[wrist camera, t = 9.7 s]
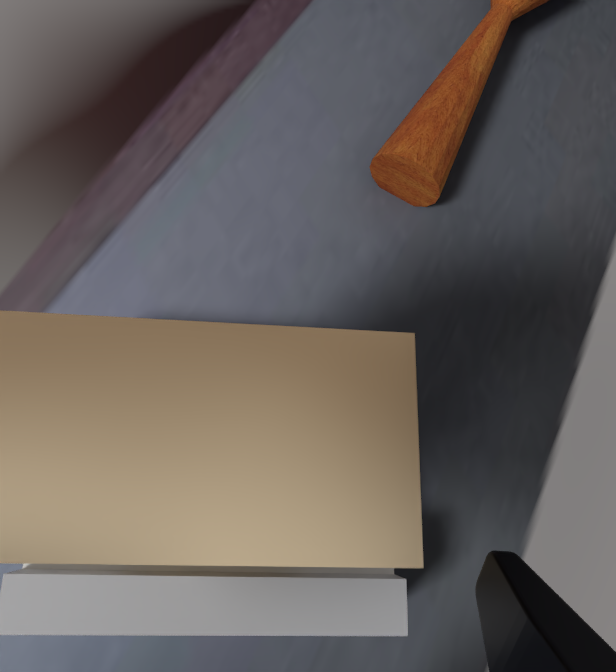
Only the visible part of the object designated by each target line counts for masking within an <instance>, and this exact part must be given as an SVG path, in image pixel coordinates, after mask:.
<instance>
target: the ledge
mask: <svg viewBox="0 0 616 672" xmlns="http://www.w3.org/2000/svg"><path fill="white" fill-rule="evenodd" d="M0 635H200V636H408V622H407V585H406V579H405V578H402V577H400V576H397V575H395V574H394V568H357V567H274V566H191V565H108V564H26V563H23V569H20V570H16V571H12V572H9V573H5V574H3V580H2V586H1V592H0Z"/></svg>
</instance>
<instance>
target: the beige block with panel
mask: <svg viewBox="0 0 616 672" xmlns="http://www.w3.org/2000/svg"><path fill="white" fill-rule="evenodd" d="M0 563H26V564H108V565H191V566H274V567H357V568H424V567H423V541H422V514H421V488H420V461H419V435H418V409H417V382H416V356H415V333H404V332H385V331H367V330H348V329H330V328H312V327H293V326H275V325H256V324H238V323H220V322H201V321H183V320H164V319H146V318H128V317H109V316H91V315H72V314H54V313H35V312H17V311H0Z"/></svg>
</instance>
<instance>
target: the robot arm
mask: <svg viewBox="0 0 616 672" xmlns="http://www.w3.org/2000/svg"><path fill="white" fill-rule="evenodd" d="M476 601H477V606H478V611H479V617H480V622H481V628H482V633H483V639H484V644H485V650H486V655H487V661H488V666H489V672H616V652H615V651H614V650H613V649H612V648H611V647H610V646H609V645H608V644H607V643H606V642H605V641H604V640H603V639H602V638H601V637H600V636H599V635H598V634H597V633H596V632H595V631H594V630H593V629H592V628H591V627H590V626H589V625H588V624H587V623H586V622H585V621H584V620H583V619H582V618H581V617H580V616H579V615H578V614H577V613H576V612H575V611H574V610H573V609H572V608H571V607H570V606H569V605H568V604H566V602H564V600H563V599H562V598H561V597H559V595H558V594H556V593H555V592H554V591H553V590H552V589H551V588H550V587H549V586H548V585H547V584H546V583H545V582H544V581H543V580H542V579H541V578H540V577H539V576H538V575H537V574H536V573H535V572H534V571H533V570H532V569H531V568H530V567H529V566H528V565H527V564H526V563H525V562H524V561H523V560H522V559H521V558H520V557H519V556H518V555H517V554H515V553H513V552H508V551H491V552H490V553H488V555H487V557H486V559H485V562H484V564H483V567H482V570H481V572H480V575H479V577H478V580H477V583H476Z"/></svg>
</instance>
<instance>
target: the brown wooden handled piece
mask: <svg viewBox="0 0 616 672" xmlns="http://www.w3.org/2000/svg"><path fill="white" fill-rule="evenodd" d="M547 1H549V0H491V9H490V11H489V12H488V13H487V15H486V16H485V17H484V18H483V20H482V21H481V22H480V23H479V25H478V26H477V27H476V28H475V30H474V31H473V32H472V34H471V35H470V36H469V37H468V39H467V40H466V41H465V42H464V44H463V45H462V46H461V48H460V49H459V50H458V51H457V53H456V54H455V55H454V56H453V58H452V59H451V60H450V61H449V63H448V64H447V65H446V67H445V68H444V69H443V70H442V72H441V73H440V74H439V75H438V77H437V78H436V79H435V81H434V82H433V83H432V84H431V86H430V87H429V88H428V89H427V91H426V92H425V93H424V94H423V96H422V97H421V98H420V100H419V101H418V102H417V103H416V105H415V106H414V107H413V108H412V110H411V111H410V112H409V114H408V115H407V116H406V117H405V119H404V120H403V121H402V122H401V124H400V125H399V126H398V127H397V129H396V130H395V131H394V133H393V134H392V135H391V136H390V138H389V139H388V140H387V141H386V143H385V144H384V145H383V147H382V148H381V149H380V150H379V152H378V153H377V154H376V155H375V157H374V158H373V159H372V162H371V165H370V170H371V174H372V177H373V179H374V180H375V182H376V183H377V184H378V186H379V187H380V188H382V189H384V190H385V191H387V192H389V193H391V194H393V195H395V196H396V197H398V198H400V199H402V200H404V201H406V202H407V203H409V204H411V205H413V206H422V207H427V206H429V205H432V204H435V203H436V201H437V200H438V198H439V197H440V194H441V192H442V189H443V187H444V185H445V182H446V180H447V177H448V175H449V172H450V170H451V167H452V165H453V162H454V160H455V158H456V155H457V153H458V150H459V148H460V145H461V143H462V140H463V138H464V135H465V133H466V131H467V128H468V126H469V123H470V121H471V118H472V116H473V113H474V111H475V108H476V106H477V104H478V101H479V99H480V96H481V94H482V91H483V89H484V86H485V84H486V81H487V79H488V77H489V74H490V72H491V69H492V67H493V64H494V62H495V59H496V57H497V54H498V52H499V50H500V47H501V45H502V42H503V40H504V37H505V35H506V32H507V30H508V27H509V25H510V23H511V21H512V20H514V19H516V18H518V17H520V16H521V15H523V14H525V13H527V12H529V11H531V10H533V9H534V8H536V7H538V6H540V5H542V4H544V3H546V2H547Z"/></svg>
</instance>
